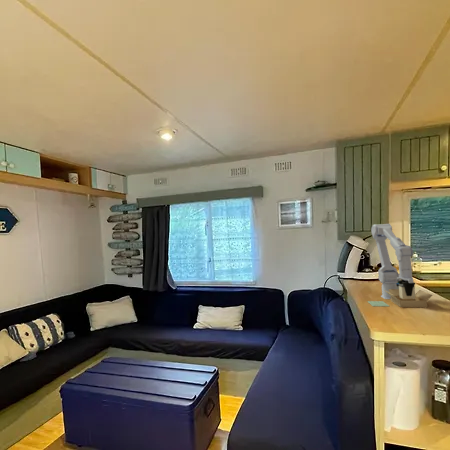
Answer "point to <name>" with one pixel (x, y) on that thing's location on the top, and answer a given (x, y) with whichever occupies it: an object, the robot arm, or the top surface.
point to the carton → (419, 299)
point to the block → (403, 293)
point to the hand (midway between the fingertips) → (407, 294)
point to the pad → (378, 303)
